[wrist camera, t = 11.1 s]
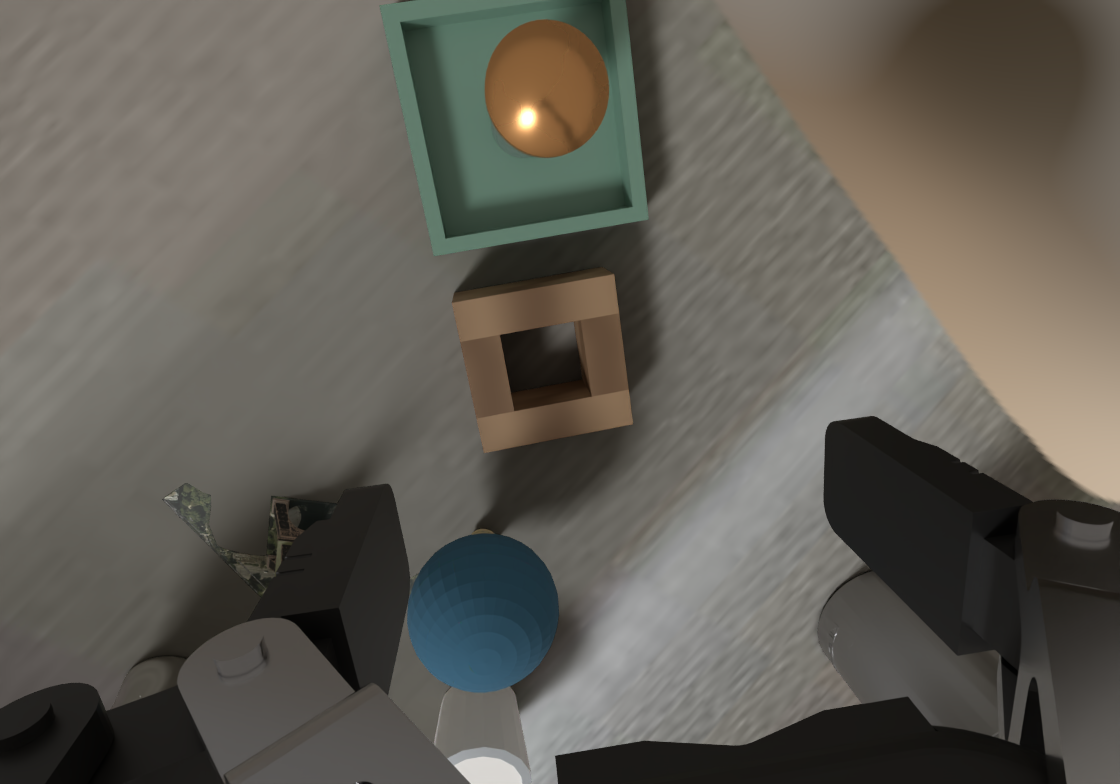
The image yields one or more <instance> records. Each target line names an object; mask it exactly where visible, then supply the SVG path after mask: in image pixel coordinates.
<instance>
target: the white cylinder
mask: <svg viewBox="0 0 1120 784" xmlns="http://www.w3.org/2000/svg"><path fill="white" fill-rule="evenodd" d="M434 745H435V746H436V747H437V748H438V749H439V750H440V752H441V753H442V754H443V755H444V756H445V757H446V758H447V759H448V760H449V761H450V762H451V763H452V764H453V765H454V766H455V767H456V769H457V770H458V771H459V772H460V773H461V774H462V775H463V776H464V777H465V778H466V779H467V780H468V781H469V782H470V783H471V784H532V779H531V771H530V766H529V761H528V756H527V751H526V746H525V741H524V736H523V730H522V725H521V720H520V715H519V710H518V705H517V700H516V695H515V693H514V691H513V690H512V689H511V687H510V686H509V687H507V688H504V689H501V690H498V691H493V692H486V693H474V692H468V691H463V690H460V689H457V688H454V687H451V688H450V689H449V690H448V691H447V692H446V693H445V695H444V698H443V701H442V704H441V708H440V713H439V719H438V724H437V729H436V735H435V740H434Z"/></svg>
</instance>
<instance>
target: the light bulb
mask: <svg viewBox="0 0 1120 784" xmlns="http://www.w3.org/2000/svg"><path fill="white" fill-rule="evenodd" d="M558 617H559V606H558V594H557V590H556V587H555V584H554V581H553V579H552V576H551V573H550V572H549V570H548V569H547V567H546V565H545V564H544V562H543V561H542V560H541V559H540V558H539V557H538V556H537V555H536V554H535V553H534V551H533V550H532V549H530V548H529V547H527V546H526V545H524V544H523V543H522V542H519V541H517V540H515V539H512V538H510V537H507V536H503V535H499V534H494V533H493V532H492V531H491V530H487V529H478V530H476V531H474V532H473V533H472V534H471V535H469V536H465V537H462V538H459V539H457V540H455V541H453V542H451V543H449V544H447V545H445V546H444V547H442V548H441V549H440V550H438V551H437V552H436V553H435V554H434V555H433V556H432V557H431V558H430V559H429V560H428V561H427V563H426V564H425V565H424V566H423V568H422V569H421V571H420V572H419V574H418V576H417V578H416V579H415V582H414V585H413V588H412V591H411V594H410V597H409V601H408V614H407V624H408V630H409V635H410V639H411V642H412V645H413V647H414V649H415V652H416V654H417V656H418V657H419V659H420V660H421V662H422V663H423V664H424V666H425V667H426V668H427V669H428V670H429V672H430V673H432V674H433V675H434V676H435V677H436V678H437V679H438V680H440V681H442V682H444V683H445V684H447V685H449V686H452V687H454V688H457V689H460V690H463V691H468V692H474V693H486V692H493V691H498V690H501V689H504V688H507V687H509V686H511V685H513V684H515V683H517V682H519V681H521V680H522V679H523V678H525V677H526V676H527V675H529V674H530V673H531V672H532V671H533V670H534V669H535V668H536V667H537V666H538V665H539V664H540V662H541V661H542V659H543V658H544V656H545V655H546V653H547V652H548V650H549V649H550V647H551V644H552V642H553V639H554V636H555V633H556V629H557V624H558Z"/></svg>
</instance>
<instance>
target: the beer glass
mask: <svg viewBox="0 0 1120 784" xmlns="http://www.w3.org/2000/svg"><path fill="white" fill-rule="evenodd" d="M186 660H187V659H185V658H181V657H175V656H160V657H154V658H151V659H148V660H145V661H143V662H141V663H139V664H138V665H136V666H135V667H134V668H132V669H131V670H130V671H129V672H128V674H127V675H126V677H125V679H124V680H123V683H122V685H121V687H120V690H119V692H118V695H117V697H116V700H115V702H114V704H113V705H112V707H111V709H114V708H116V707H119V706H122V705H125V704H128V703H130V702H133V701H136V700H139V699H141V698H144V697H147V696H150V695H153V694H155V693H158V692H161V691H164V690H166V689H169V688H171V687H174V686H176V685H178V684H177V679H178V674H179V671H180V669H181V667H182V666H183V664H184V662H185V661H186ZM111 709H110V710H111Z"/></svg>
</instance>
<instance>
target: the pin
mask: <svg viewBox="0 0 1120 784" xmlns="http://www.w3.org/2000/svg"><path fill="white" fill-rule="evenodd" d="M608 100H609V80H608V74H607V70H606V67H605V63H604V61H603V59H602V56H601V54H600V53H599V51H598V49H597V48H596V46H595V45H594V44H593V43H592V41H591V40H590V39H589V38H588V37H587V36H586V35H585V34H584V33H582V32H581V31H580V30H578V29H577V28H575V27H573V26H571V25H569V24H567V23H564V22H561V21H557V20H548V19H543V20H535V21H530V22H527V23H525V24H522V25H520V26H518V27H517V28H515V29H513V30H512V31H511V32H509V33H508V34H507V35H506V36H505V37H504V38H503V39H502V40H501V41H500V43H499V44H498V45H497V47H496V48H495V50H494V52H493V54H492V56H491V58H490V61H489V63H488V67H487V71H486V77H485V103H486V107H487V112H488V114H489V117H490V120H491V129H492V134H493V137H494V139H495V141H496V143H497V144H498V146H499V147H500V148H501V149H502V150H503V151H504V152H506V153H507V154H509V155H511V156H514V157H517V158H529V157H538V158H554V157H558V156H562V155H565V154H568V153H570V152H573V151H574V150H576V149H578V148H580V147H581V146H582V145H584V144H585V143H586V142H587V141H588V140H589V139H590V138H591V137H592V136H593V135H594V134H595V132H596V131H597V130H598V128H599V126H600V125H601V123H602V120H603V118H604V116H605V113H606V109H607V105H608Z"/></svg>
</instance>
